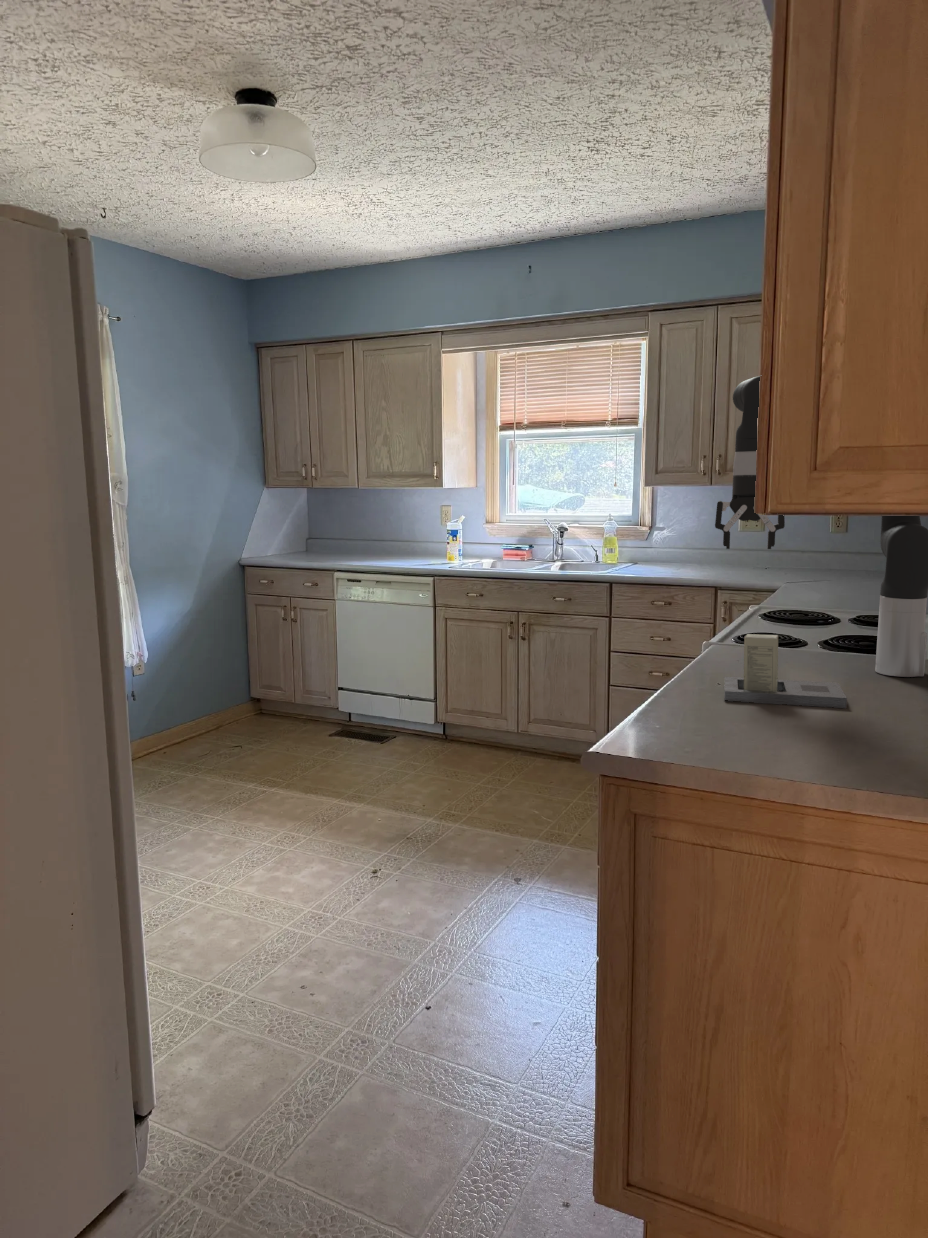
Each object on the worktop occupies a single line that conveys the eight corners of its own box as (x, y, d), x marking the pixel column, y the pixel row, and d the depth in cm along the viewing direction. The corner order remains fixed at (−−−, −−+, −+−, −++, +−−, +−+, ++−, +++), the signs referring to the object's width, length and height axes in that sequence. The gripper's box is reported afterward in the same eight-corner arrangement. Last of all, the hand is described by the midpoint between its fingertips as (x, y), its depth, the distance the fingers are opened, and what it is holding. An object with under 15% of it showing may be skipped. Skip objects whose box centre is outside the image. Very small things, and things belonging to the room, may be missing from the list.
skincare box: (777, 694, 170) (780, 634, 168) (775, 699, 166) (778, 638, 164) (744, 691, 173) (746, 632, 171) (741, 696, 169) (744, 636, 167)
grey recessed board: (837, 692, 171) (838, 682, 171) (846, 708, 159) (846, 698, 158) (724, 686, 177) (724, 676, 177) (724, 701, 165) (724, 691, 165)
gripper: (785, 473, 182) (782, 548, 185) (716, 474, 186) (714, 547, 189) (787, 472, 175) (784, 550, 177) (716, 473, 179) (714, 549, 182)
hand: (748, 548), depth 183 cm, fingers open, 8 cm apart
